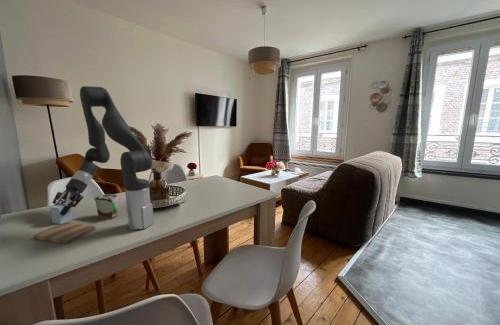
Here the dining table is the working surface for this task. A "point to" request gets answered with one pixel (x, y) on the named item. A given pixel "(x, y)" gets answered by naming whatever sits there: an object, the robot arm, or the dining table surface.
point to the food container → (106, 205)
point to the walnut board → (64, 232)
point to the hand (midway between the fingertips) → (57, 214)
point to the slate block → (56, 214)
